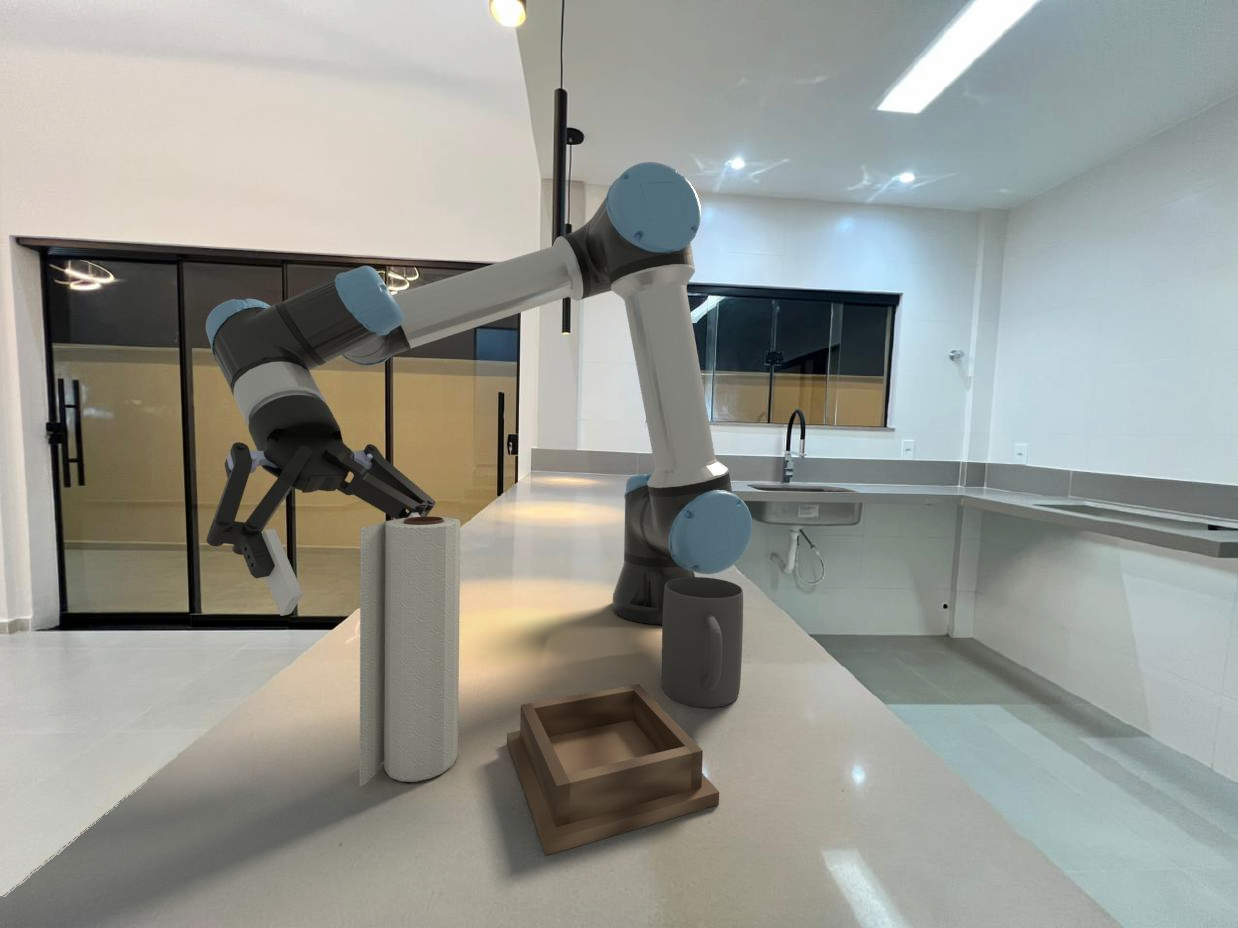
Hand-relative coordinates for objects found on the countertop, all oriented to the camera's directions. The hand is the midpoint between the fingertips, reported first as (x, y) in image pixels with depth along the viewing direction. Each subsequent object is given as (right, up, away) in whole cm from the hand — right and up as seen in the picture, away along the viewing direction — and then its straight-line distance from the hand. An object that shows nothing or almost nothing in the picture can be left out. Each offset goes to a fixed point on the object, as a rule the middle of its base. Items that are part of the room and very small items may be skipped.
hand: (373, 586), depth 46 cm
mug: (+31, -15, +12) cm, 37 cm away
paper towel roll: (+4, -15, -1) cm, 16 cm away
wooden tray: (+21, -16, -2) cm, 26 cm away
